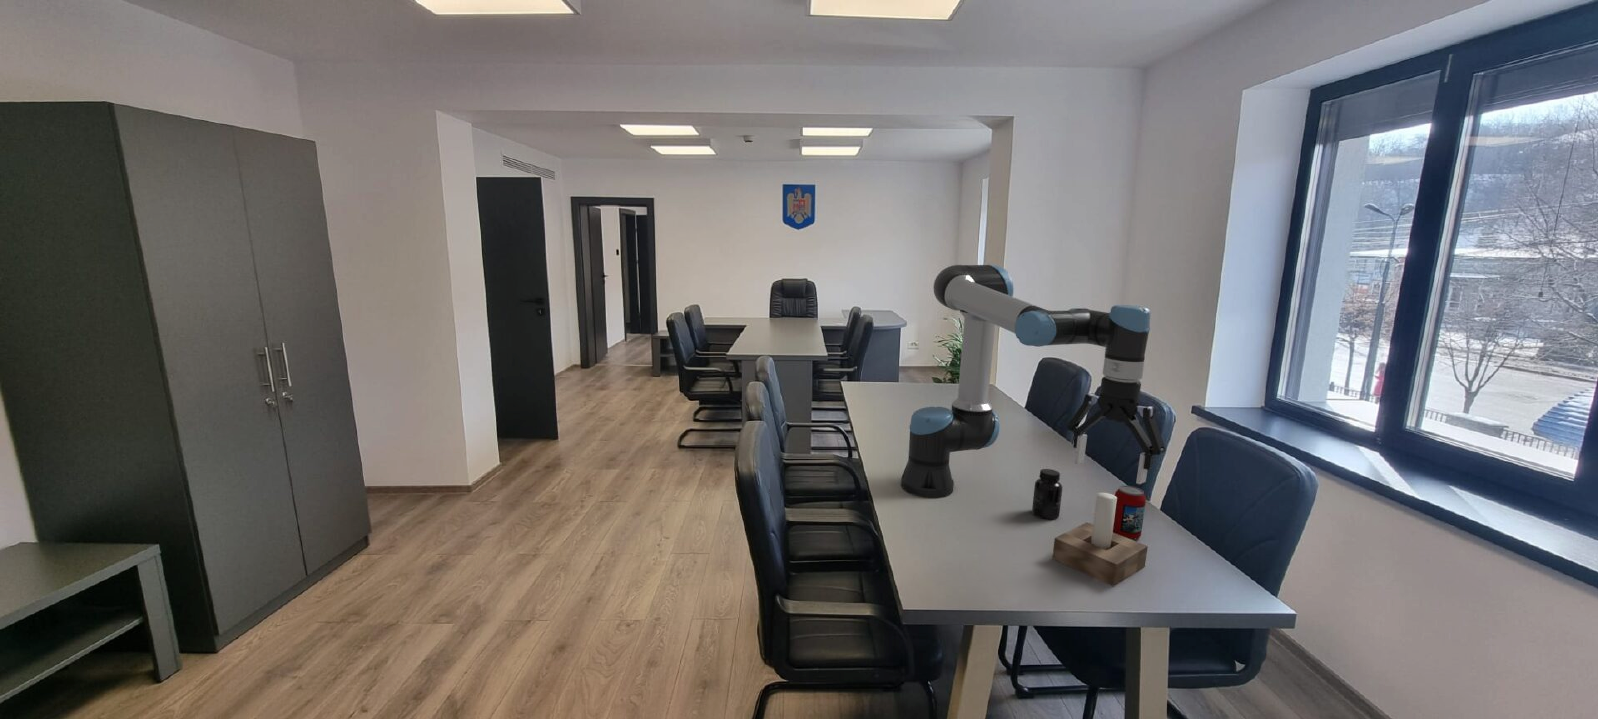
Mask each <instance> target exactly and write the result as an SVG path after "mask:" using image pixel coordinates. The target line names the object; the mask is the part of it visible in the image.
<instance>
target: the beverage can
mask: <svg viewBox="0 0 1598 719" xmlns="http://www.w3.org/2000/svg"><path fill="white" fill-rule="evenodd" d="M1144 492H1145V491H1144V490H1143V489H1141V488H1139V487H1136V486H1131V485H1120V486H1119V487H1118V489H1117V490H1116V491H1115V492H1114V496H1116V497H1117V502H1116V509H1115V517H1114V524H1113V533H1115V534H1118V535H1121V536H1123V537H1126V538H1128V539H1131V540H1136V539H1140V538H1141V536H1142V531H1143V524H1144V519H1145V518H1144V517H1145V511H1146V510H1145V509H1146V503H1147V498H1146V496H1145V493H1144Z"/></svg>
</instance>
